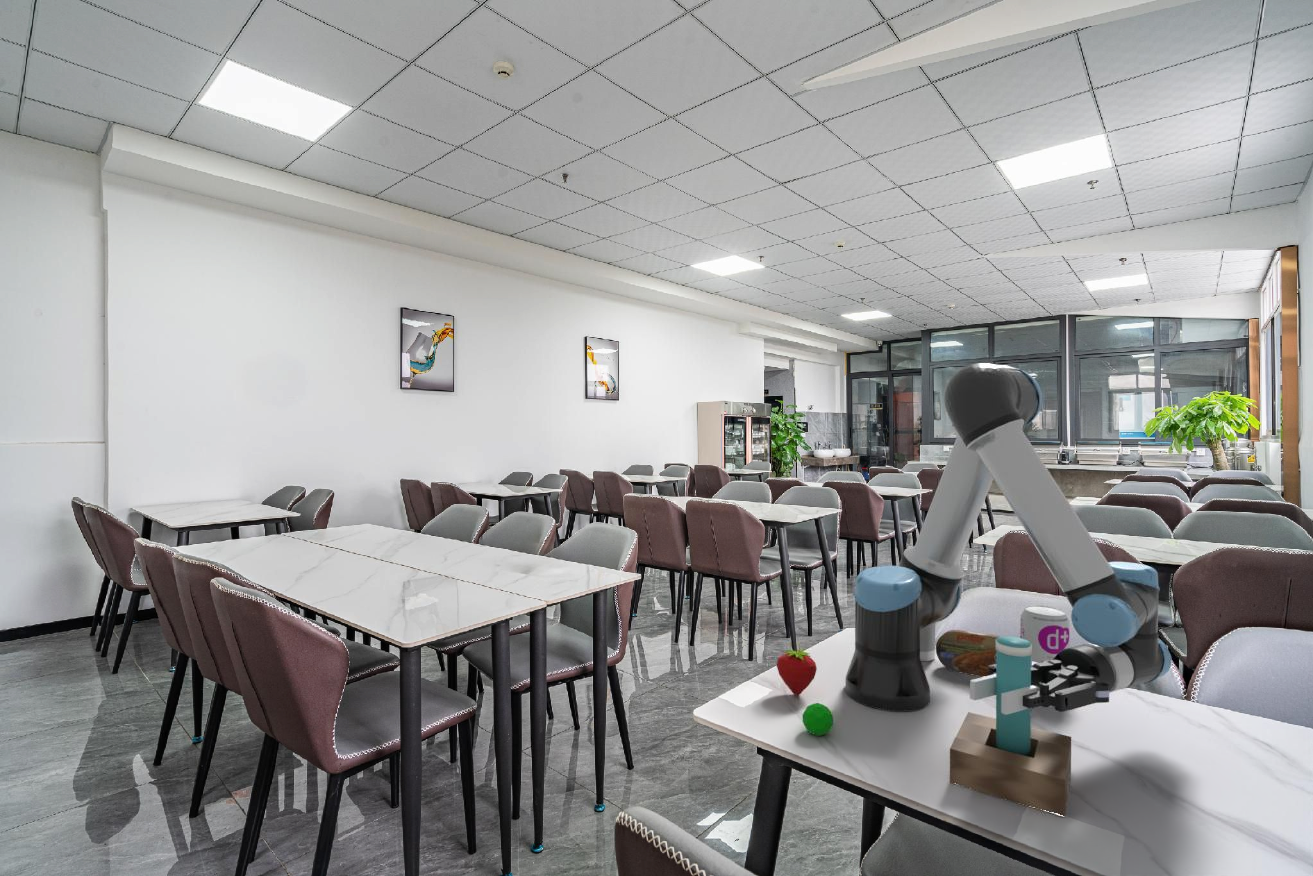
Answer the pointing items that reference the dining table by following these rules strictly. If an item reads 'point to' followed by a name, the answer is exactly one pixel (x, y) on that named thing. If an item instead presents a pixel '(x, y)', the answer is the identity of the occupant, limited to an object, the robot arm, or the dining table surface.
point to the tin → (967, 651)
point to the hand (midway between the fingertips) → (987, 697)
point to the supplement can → (1045, 631)
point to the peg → (1009, 677)
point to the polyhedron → (818, 719)
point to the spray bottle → (927, 643)
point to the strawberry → (796, 670)
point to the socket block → (1012, 765)
